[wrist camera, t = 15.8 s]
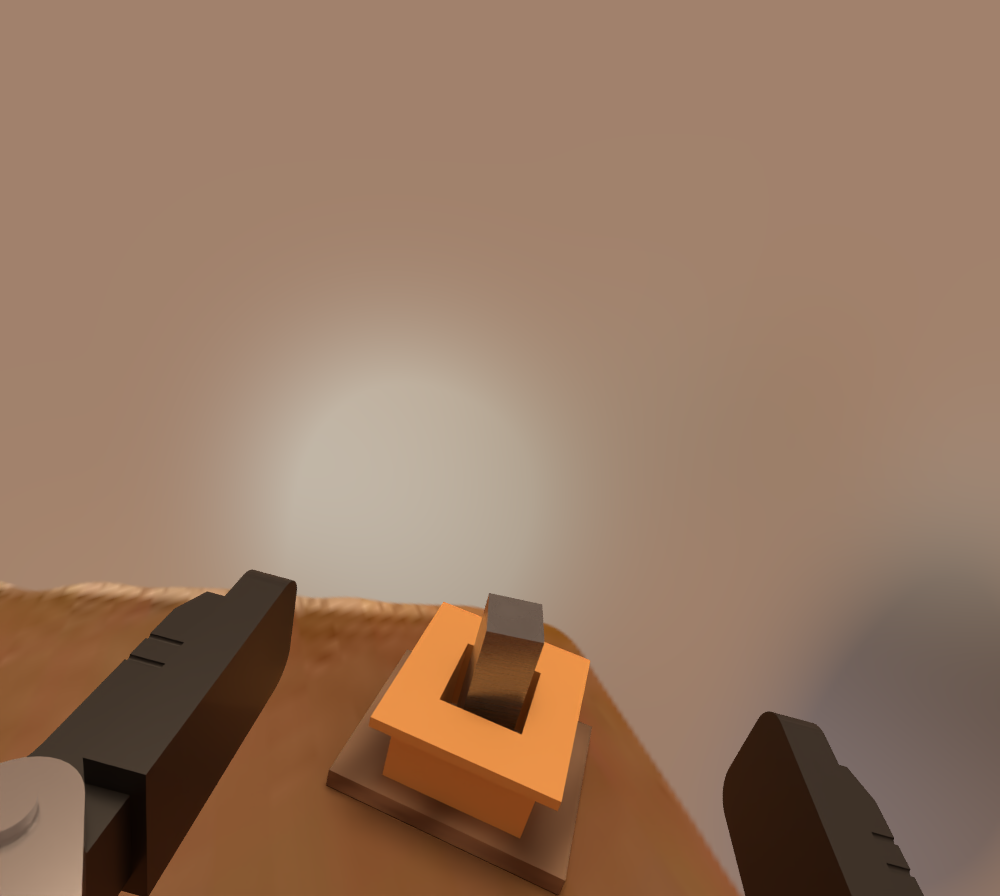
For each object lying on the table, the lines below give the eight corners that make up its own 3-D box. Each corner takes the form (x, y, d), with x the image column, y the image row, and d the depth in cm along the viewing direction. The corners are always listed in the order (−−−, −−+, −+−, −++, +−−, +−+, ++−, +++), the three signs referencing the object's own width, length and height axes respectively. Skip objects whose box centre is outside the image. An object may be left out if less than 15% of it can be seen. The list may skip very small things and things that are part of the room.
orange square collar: (356, 782, 37) (370, 716, 35) (429, 658, 48) (443, 601, 45) (533, 865, 35) (561, 802, 33) (567, 716, 46) (590, 660, 43)
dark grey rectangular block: (446, 764, 40) (486, 631, 35) (452, 720, 43) (489, 593, 38) (497, 774, 40) (544, 643, 35) (499, 729, 43) (542, 604, 38)
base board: (326, 785, 38) (329, 769, 37) (404, 662, 49) (407, 649, 48) (558, 895, 35) (565, 880, 35) (586, 739, 46) (591, 726, 45)
